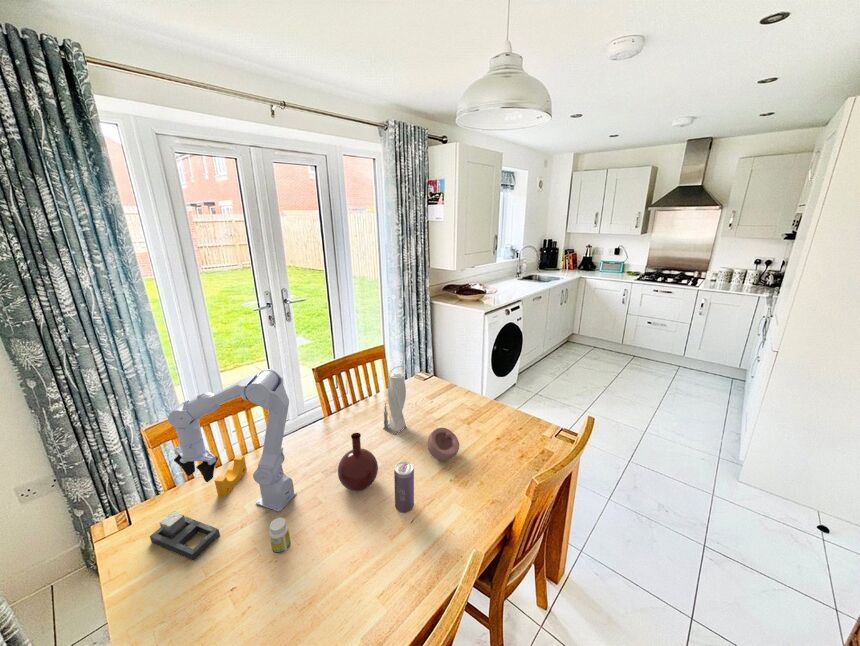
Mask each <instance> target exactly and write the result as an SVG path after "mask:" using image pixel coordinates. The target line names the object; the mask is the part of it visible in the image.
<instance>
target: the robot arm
mask: <svg viewBox="0 0 860 646" xmlns="http://www.w3.org/2000/svg"><path fill="white" fill-rule="evenodd" d="M240 397H241V398H242V399H243V400H244V401H248V400H249V402H251V403H252V404H255V405H257V406H259V407H260V408H262V409H265V410H266V411H268V417H267V423H266V428H265V429H266V430H265V435H264V441H263V448H262V453H261V454H262V455H261V456H260V460H259V462H258V464H257V468H256V469H255V470H254V472H253V474H252V477H253V481H255V483H257V484H258V486H259V490H260V496H261V497H259V499H257V500H256V501H255V504H256V505H258V506H261V507H264V508H267V509H271V510H273V511H276V512H281V511H282V510H283V509H284V508H285V507H286V506H287V505H288V503H289V502H290V501H291V500H292V499H293V497H295V495H296V494H297V492H296V491H295V487H294V483H293V479H292V478H291V477H289V476H287V475H286V474H285V472H284V470H283V465H282V464H283V463H284V461H285V454H284V447H282V445H283V439H284V433H285V428H286V423H287V417H288V411H289V406H290V400H289V397H288V394H287V391H286V389H285V387H284V379H283V377H282V376H281V375H280V374H279V373H278V372H277V371H275V370H273V369H270V368H268V369H267V368H266V369H263V370H261V371H260V372H256V373H253V374H251V375H248V376H247V377H244V378H243V379H240V380H239V381H237V382H235V383H233V384H231V385H230V386H228V387H226V388H223V389H221V390H219V391H218V392H209V391H208V392H206V393H205V392H201V393H198V395H197V396H196V397H195V398H192V399H191V400H189V399H187V400H185V401H183V402H181V403H180V404H179V405H178V406H177V407H175V408H174V409H173V410H172V411H171V412H170V413H169V415H168V416H167V422H168V423H169V424H170V426H172V427H173V428H175V431H176V435H177V438H178V443H179V445H178V446H177V447H175V448H174V449H173V451H174V455H177V456H176V457H175V458H174V459H173V462H174V463H176V464H177V465H178V466H180V467H181V469H182V470H183V472H184V474H185V475H186V476H187V477H190V476H191V475H193V474H194V473H195V472H196V469H197V470H198V471H199V472H200V473H201V475H202V478H203V480H204V481H205V482H206V483H209V482H210V481H212V480H213V479H214V473H215V472H214V471H215V467H216V464H217V463H218V460H219V458H218V456H216V455H214V454H213V453H211V452H210V451H209V449H207V447H206V446H205V441H204V438H203V434H202V428H201V425H200V418H203V417H205V416H207V415H209V414H212V413H213V412H216V411H218V409H219V408H220V406H221V404H224V403H226V402H228V401H229V402H230V401H231V400H234V399H236V398H240ZM195 462H200V464H198V465H197V466H196V465H195Z"/></svg>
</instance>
